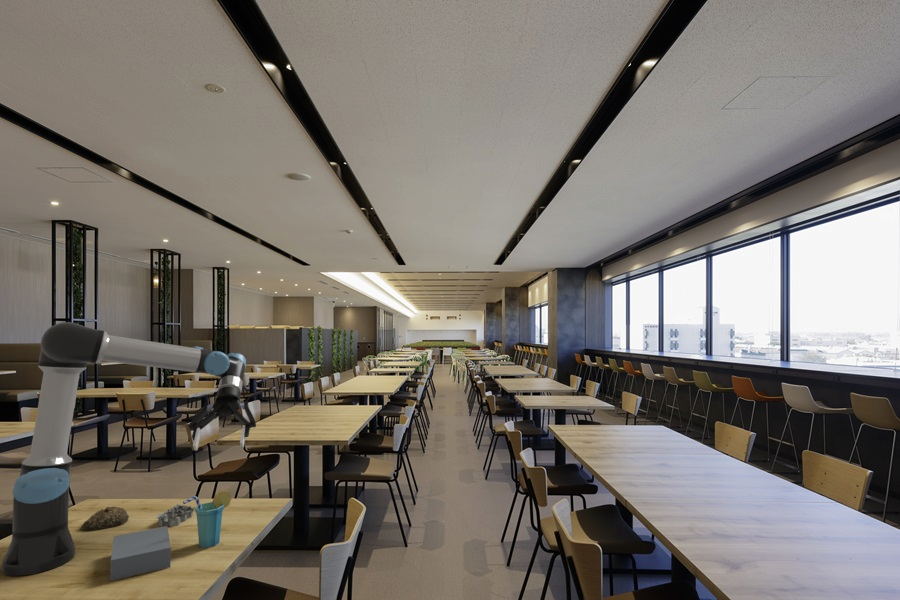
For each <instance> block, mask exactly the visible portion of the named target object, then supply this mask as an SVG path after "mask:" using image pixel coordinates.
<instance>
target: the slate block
mask: <svg viewBox="0 0 900 600" xmlns="http://www.w3.org/2000/svg"><path fill="white" fill-rule="evenodd" d="M168 527H169V526H168V525H166V526H162V527H161V526H159V527H155V528H149V529H145V530H139V531H135V532H128V533H123V534H119V535H114V536H113V539H112V546H111V547H112V548H111V555H110V582H112V581H116V580H117V581H118V580H120V579H125V578H130V577H134V576H137V575H143V574H146V573H151V572H155V571H159V570H160V571H161V570H163V569H168V568H171V556H172V554H171V552H172V549H171V548H172V547H171V541H170V534H169V528H168Z"/></svg>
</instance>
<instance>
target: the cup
mask: <svg viewBox="0 0 900 600" xmlns="http://www.w3.org/2000/svg"><path fill="white" fill-rule="evenodd" d="M231 500H232V496H231V493H230V492H229V491H226V490H220V491H219V492H217V493H216V494H214V497H213V499H212V501H211V502H205V503H201V502H200V499H199V498H198V497H197V496H195V495H193V496H192V497H189V498H188V499H185V500H183V502H182V504H184V505H185V504H188V503H190V502H191V501H195V503H196V506H195V510H194V511H195V513H196V522H197V534H198V535H197V536H198V547H200V548H202V549H203V548H205V549H208V548H213V547H215V546H217V545H218V544H219V543H220V537H221V530H222V529H221V527H222V518H223V510H224V509H225V508H226V507H228V506H229V505H230V503H231Z"/></svg>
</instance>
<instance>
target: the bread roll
mask: <svg viewBox="0 0 900 600" xmlns="http://www.w3.org/2000/svg"><path fill="white" fill-rule="evenodd" d="M129 518H130V515H129V514H128V513H127V511H126V510H125V508H123V507H118V506H107V507H106V508H105V509H100V510H98V511H96V512H95V513H94V514H93V515H91V516H90V517H89V518H88V519H87V520H85V521H84V522H83V524H82V525H81V527H80V529H81V531H96V530H102V529H108V528H109V529H110V528H114V527H120V526H122V525H124V524H126V523H127V522H128V520H129Z"/></svg>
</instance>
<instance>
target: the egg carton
mask: <svg viewBox="0 0 900 600" xmlns="http://www.w3.org/2000/svg"><path fill="white" fill-rule="evenodd" d="M195 508H196V506H195V507H192V506H191V505H189V506H187V505H185V504H184V505H180V504H178V503H177V504H176V505H174V506H173V507H172V508H170V509H167V510H166V511H164V512H162V513H158V514H157V516H156V520H158V524H159V525H158V526H159V527H161V526H162V527H165V526H164V525H166V526H168V527H169V528H173V527H176V526H180V525H181V523H182V522H186V521H187V519H190V518H189V517H191V518H193V517H194V514H193V513H194V511H195ZM174 515H175V516H174ZM192 516H193V517H192Z"/></svg>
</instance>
